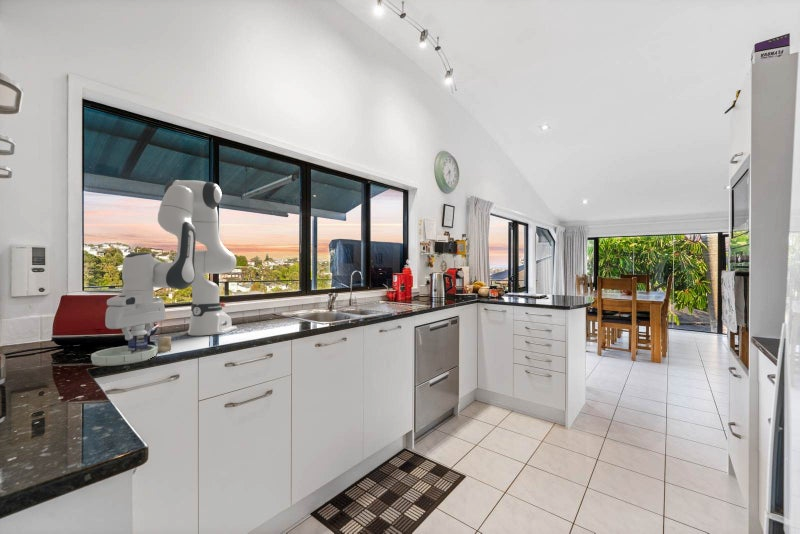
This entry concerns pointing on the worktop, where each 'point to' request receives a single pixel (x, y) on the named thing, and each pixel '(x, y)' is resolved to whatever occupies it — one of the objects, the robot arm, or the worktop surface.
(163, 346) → the beech bead
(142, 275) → the robot arm
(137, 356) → the dish
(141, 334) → the pill bottle
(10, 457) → the worktop surface
